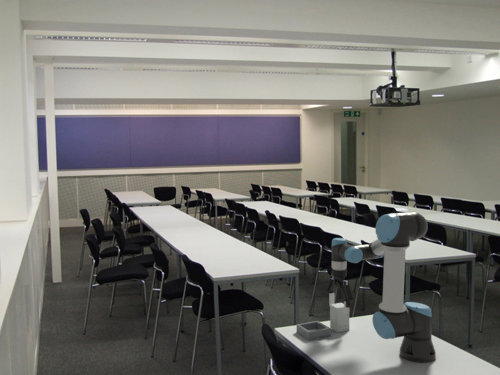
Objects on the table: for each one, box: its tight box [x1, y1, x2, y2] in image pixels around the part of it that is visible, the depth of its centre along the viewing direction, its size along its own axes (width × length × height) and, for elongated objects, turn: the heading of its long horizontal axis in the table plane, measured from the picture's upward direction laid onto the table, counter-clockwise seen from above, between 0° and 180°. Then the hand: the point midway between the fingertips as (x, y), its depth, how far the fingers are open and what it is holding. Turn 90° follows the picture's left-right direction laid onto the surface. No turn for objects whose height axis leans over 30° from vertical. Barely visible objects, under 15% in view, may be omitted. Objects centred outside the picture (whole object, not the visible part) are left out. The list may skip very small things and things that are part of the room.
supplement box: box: [329, 302, 350, 333], centre depth 252 cm, size 7×7×13 cm
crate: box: [296, 320, 332, 341], centre depth 246 cm, size 12×12×4 cm
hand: (339, 309), depth 252 cm, fingers open, 13 cm apart
